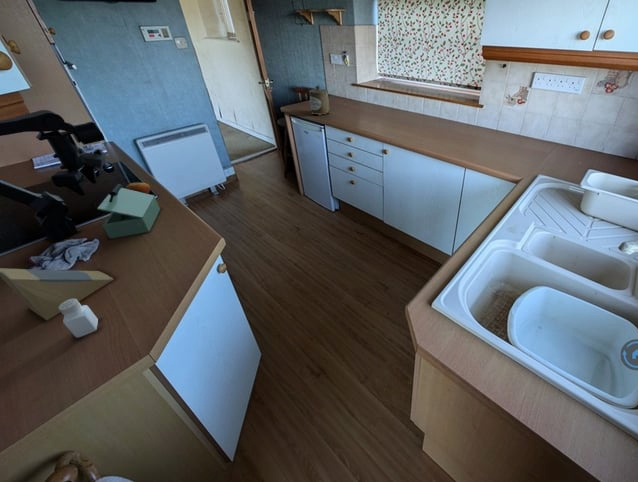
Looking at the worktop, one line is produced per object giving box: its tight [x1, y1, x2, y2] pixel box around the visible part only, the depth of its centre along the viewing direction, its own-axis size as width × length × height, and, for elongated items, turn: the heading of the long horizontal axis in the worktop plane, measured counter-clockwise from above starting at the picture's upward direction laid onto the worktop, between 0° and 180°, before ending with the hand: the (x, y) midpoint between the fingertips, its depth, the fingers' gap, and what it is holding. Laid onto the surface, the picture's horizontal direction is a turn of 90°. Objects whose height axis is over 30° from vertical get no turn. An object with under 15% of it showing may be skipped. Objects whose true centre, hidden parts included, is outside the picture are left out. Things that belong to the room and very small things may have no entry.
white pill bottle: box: [58, 299, 99, 339], centre depth 70 cm, size 4×4×10 cm
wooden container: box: [308, 85, 330, 113], centre depth 236 cm, size 15×15×22 cm
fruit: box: [125, 182, 151, 194], centre depth 124 cm, size 8×8×8 cm
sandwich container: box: [0, 267, 114, 321], centre depth 78 cm, size 9×15×15 cm, turn 156°
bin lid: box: [96, 183, 155, 218], centre depth 105 cm, size 12×16×5 cm
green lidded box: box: [102, 196, 161, 239], centre depth 109 cm, size 12×16×6 cm
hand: (89, 189), depth 106 cm, fingers open, 9 cm apart
